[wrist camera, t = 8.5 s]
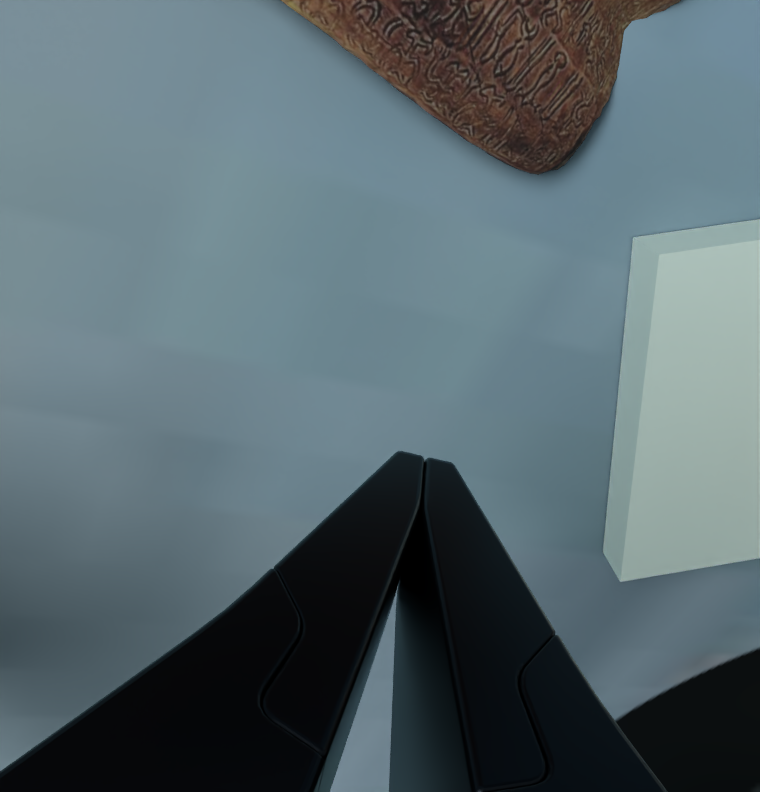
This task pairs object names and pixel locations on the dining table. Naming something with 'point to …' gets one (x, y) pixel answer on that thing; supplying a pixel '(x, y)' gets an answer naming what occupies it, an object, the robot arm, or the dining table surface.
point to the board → (688, 405)
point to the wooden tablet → (493, 64)
